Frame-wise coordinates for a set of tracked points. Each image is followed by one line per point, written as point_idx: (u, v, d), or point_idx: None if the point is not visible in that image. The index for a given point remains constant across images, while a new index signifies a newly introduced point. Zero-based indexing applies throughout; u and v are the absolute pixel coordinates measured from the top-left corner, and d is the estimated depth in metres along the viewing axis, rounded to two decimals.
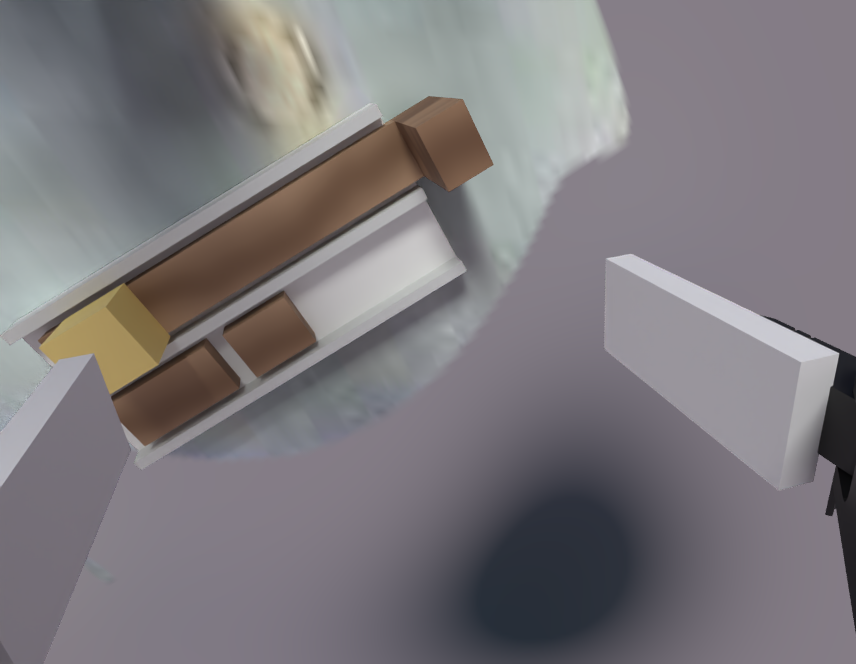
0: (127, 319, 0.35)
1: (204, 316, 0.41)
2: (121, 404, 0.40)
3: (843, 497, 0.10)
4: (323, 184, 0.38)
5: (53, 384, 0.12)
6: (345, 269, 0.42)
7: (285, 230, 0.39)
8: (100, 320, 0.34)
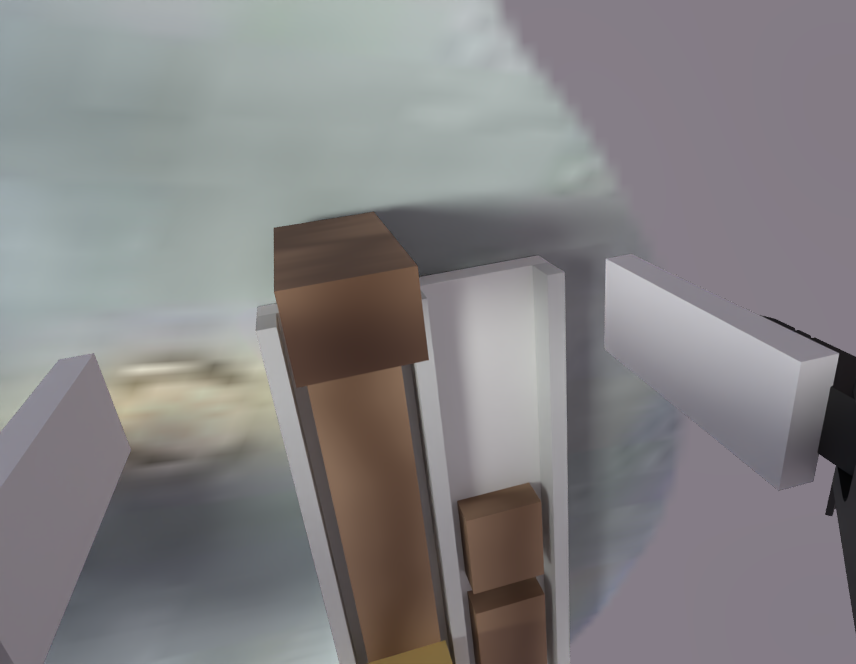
0: None
1: (441, 589, 0.32)
2: None
3: (843, 497, 0.10)
4: (342, 435, 0.25)
5: (52, 384, 0.12)
6: (469, 423, 0.29)
7: (382, 496, 0.27)
8: None
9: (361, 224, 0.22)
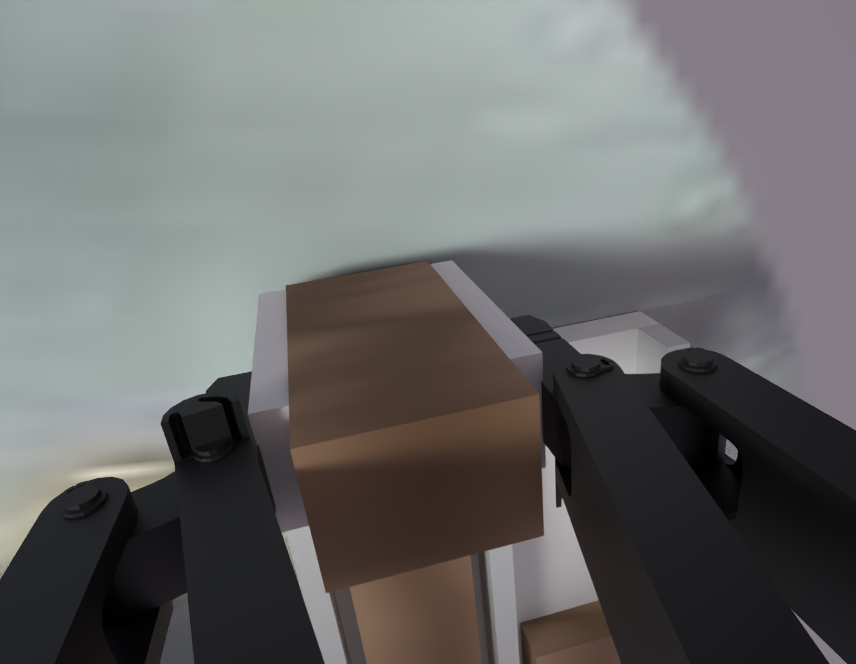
0: None
1: None
2: None
3: (567, 492, 0.11)
4: None
5: (270, 309, 0.15)
6: None
7: (429, 635, 0.20)
8: None
9: (414, 285, 0.15)
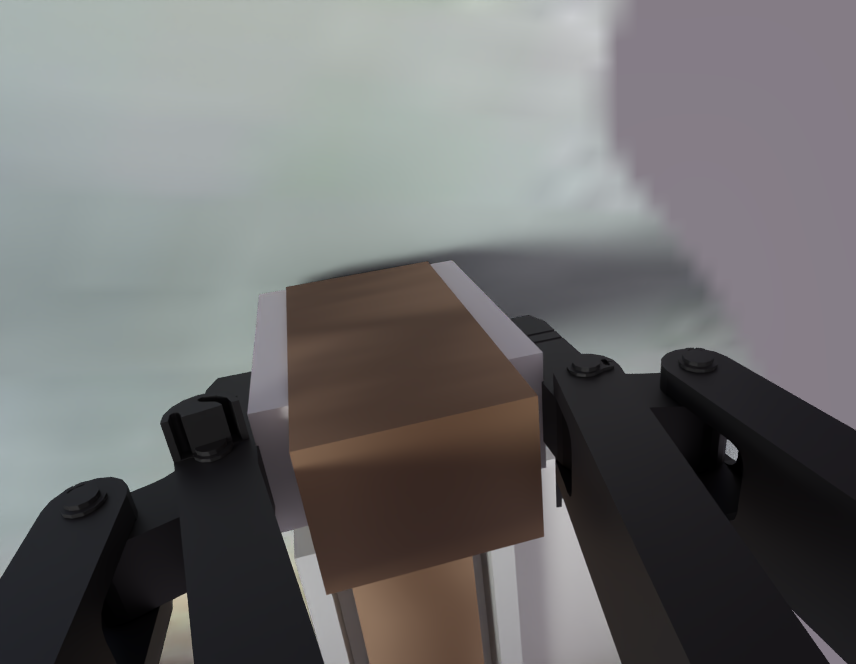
0: None
1: None
2: None
3: (567, 492, 0.11)
4: None
5: (270, 309, 0.15)
6: (547, 613, 0.23)
7: (431, 635, 0.20)
8: None
9: (414, 286, 0.15)
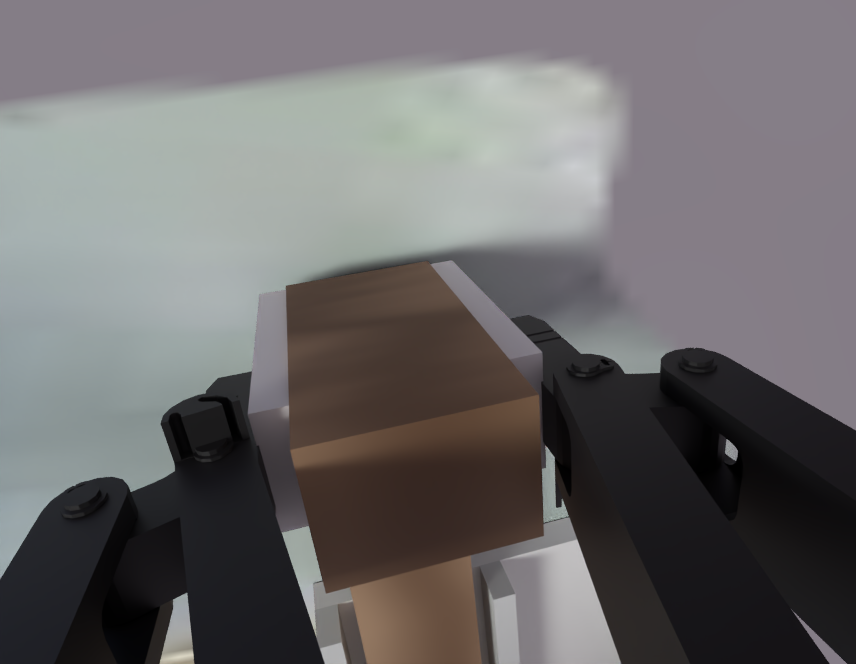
0: None
1: None
2: None
3: (567, 492, 0.11)
4: None
5: (270, 309, 0.15)
6: None
7: (429, 635, 0.20)
8: None
9: (415, 285, 0.15)
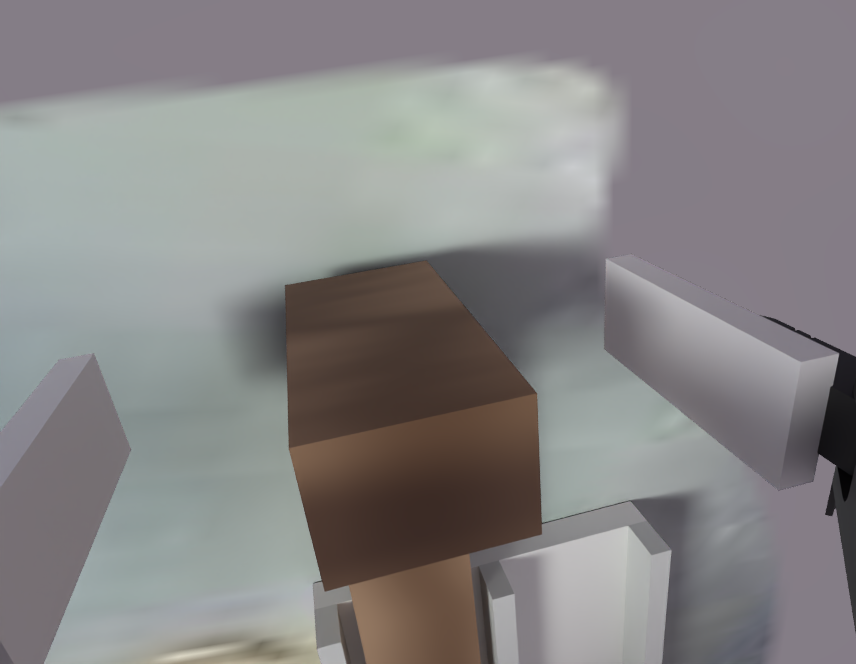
0: None
1: None
2: None
3: (843, 497, 0.10)
4: None
5: (53, 384, 0.12)
6: None
7: (428, 634, 0.20)
8: None
9: (414, 285, 0.15)
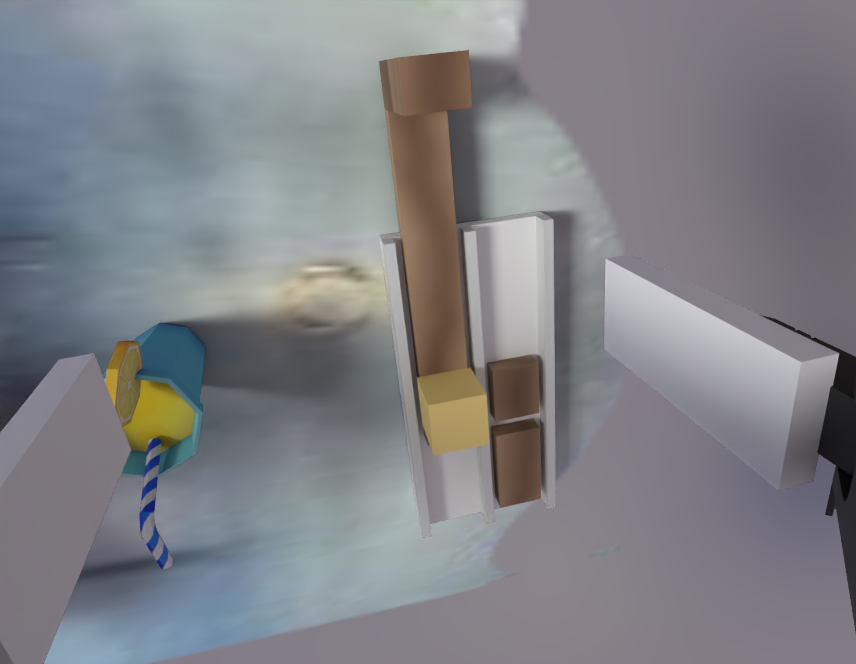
0: (443, 394, 0.44)
1: None
2: (504, 498, 0.54)
3: (843, 497, 0.10)
4: (413, 199, 0.41)
5: (53, 384, 0.12)
6: (496, 312, 0.48)
7: (434, 247, 0.43)
8: (435, 412, 0.43)
9: None
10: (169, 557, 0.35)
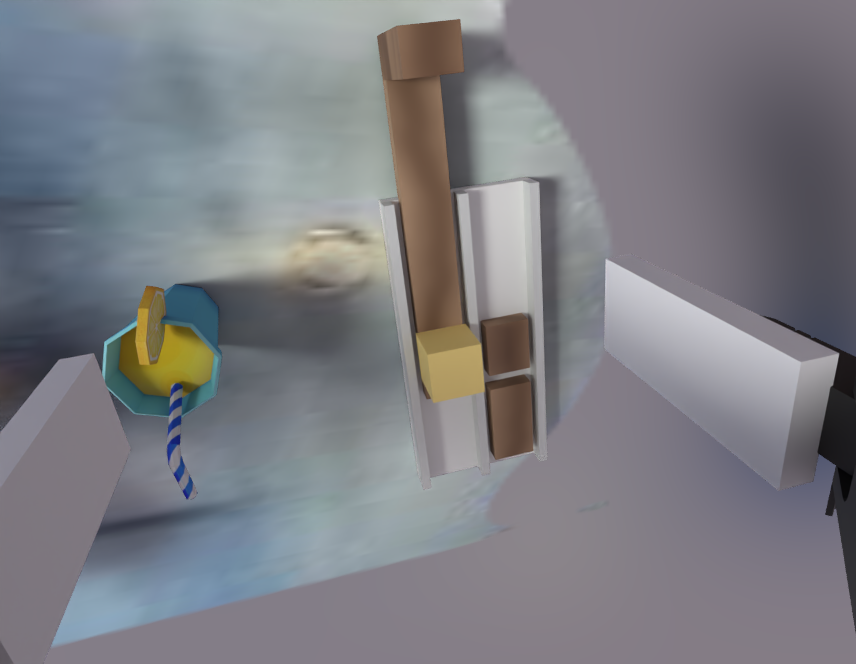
0: (441, 346, 0.48)
1: None
2: (499, 451, 0.58)
3: (843, 497, 0.10)
4: (410, 163, 0.45)
5: (53, 384, 0.12)
6: (488, 272, 0.52)
7: (430, 209, 0.47)
8: (434, 361, 0.47)
9: None
10: (194, 488, 0.39)
